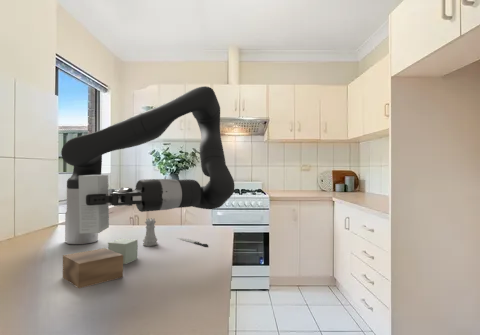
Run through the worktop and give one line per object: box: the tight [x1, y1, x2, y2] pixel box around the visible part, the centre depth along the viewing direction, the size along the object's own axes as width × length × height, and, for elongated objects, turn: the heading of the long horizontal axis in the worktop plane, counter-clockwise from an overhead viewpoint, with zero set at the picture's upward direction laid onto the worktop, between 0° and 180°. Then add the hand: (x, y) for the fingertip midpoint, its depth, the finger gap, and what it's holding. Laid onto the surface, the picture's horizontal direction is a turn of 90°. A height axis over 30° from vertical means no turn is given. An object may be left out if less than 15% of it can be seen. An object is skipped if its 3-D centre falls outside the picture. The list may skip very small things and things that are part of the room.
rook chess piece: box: [142, 218, 158, 247], centre depth 98 cm, size 4×4×8 cm
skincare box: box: [79, 174, 110, 234], centre depth 68 cm, size 6×4×12 cm
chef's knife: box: [176, 237, 209, 248], centre depth 103 cm, size 19×1×3 cm
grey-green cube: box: [107, 238, 139, 265], centre depth 81 cm, size 5×5×5 cm
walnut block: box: [62, 247, 124, 289], centre depth 68 cm, size 9×9×5 cm
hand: (83, 198), depth 67 cm, fingers closed on skincare box, 7 cm apart
